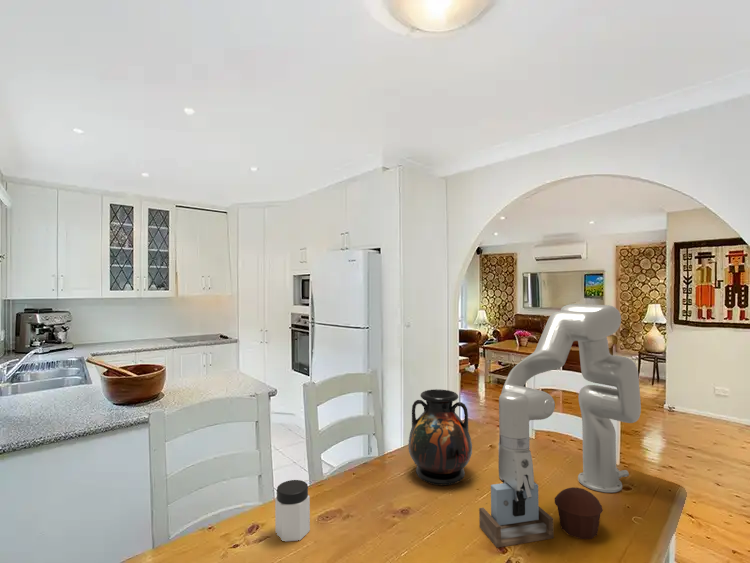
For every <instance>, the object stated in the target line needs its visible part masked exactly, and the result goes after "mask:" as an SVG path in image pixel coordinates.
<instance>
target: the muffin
mask: <svg viewBox="0 0 750 563" xmlns="http://www.w3.org/2000/svg"><path fill="white" fill-rule="evenodd" d="M554 504H555V505H556V507H557V511H558V512H557V513H558V518H559V525H560V530H562V531H563V532H565V534H567V535H569V536H571V537H575V538H577V539H579V540H585V539H586V540H592V539H594V538H595V537H597V536H598V531H599V526H600V521H601V520H600V519H601V514H602V513H603V510H604V509H603V506H602V504H601V502H600V501H599V499H598V498H597V497H596V496H595V495H594V494H593V493H591V492H590V491H588V490H587V489H584V488H581V487H568V488H564V489H562V490H561V491H560V492H558V494H557V495H556V496H555V497H554ZM594 536H595V537H594Z"/></svg>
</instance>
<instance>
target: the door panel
mask: <svg viewBox="0 0 750 563" xmlns="http://www.w3.org/2000/svg"><path fill="white" fill-rule="evenodd" d="M530 492H531V496H532V497H531V498H527V499H526V501H525V515H523V516H516V517H515V516H514V515H513V500H514V488H512V487H511V486H510V485H509V484H508V483H503V482H502V483H495V484H494V483H493V484H490V515H491V516H492V517H493V519H494V520H495V521H496V522H497V523H498V524H499V525H506V524H513V523H520V522H526V521H533V520H539V507H540V506H539V484H538V483H537V482H535V481H534V489H533V490H530ZM520 493H522V491H519V492H518V495H519V494H520Z"/></svg>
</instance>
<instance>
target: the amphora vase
mask: <svg viewBox="0 0 750 563" xmlns="http://www.w3.org/2000/svg"><path fill="white" fill-rule="evenodd" d="M419 395H420V398H421V399H422V400H421V399H416V400H415V401H414V402H413V404H412V405H411V406H412V407H411V429H410V432H409V437H408V453H409V456H410V458H411V460H412V461H413V462H414V464H415V465H416V469H415V474H416V475H417V477H418V478H420V480H422V481H424V482H426V483H429V484H431V485H437V486H450V485H455V484H457V483H459V482H461V481H462V480H463V479H464V478H465V475H466V474H465V469H464V468H465V467H466V466H467V465H468V464H469V462H470V459H471V457H472V454H473V442H472V438H471V435H470V432H469V413H468V407H467V405H466V404H465V403H463V402H461V401H459V402H455V401H457V400H458V398H459V395H458V393H456V392H455V391H452V390H449V389H437V388H436V389H427V390H424V391H422V392H421V393H420V394H419ZM424 401H425V402H424ZM453 402H455V403H454V404H453ZM418 405H421V406H422V407H423V412H422V413H421V414H420V415H419V416H418V418H417V417H416V416H417V415H416V409H417V406H418ZM458 407H461V408H462V410H463V413H464V419H463V420H464V421H463V420H462V419H461V418H460V416H459V415H458V414H457V413H456V408H458Z"/></svg>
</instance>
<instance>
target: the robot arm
mask: <svg viewBox="0 0 750 563" xmlns="http://www.w3.org/2000/svg"><path fill="white" fill-rule="evenodd" d="M621 323H622V315H621V313H620V310H619V309H618V308H616V307H615V306H613V305H610V304H609V305H607V304H588V303H587V304H586V303H585V304H584V303H573V304H572V303H571V304H567V305H564V306H562V307H561V308H560V311H555V312H553V313H551V314H550V315H549V317H548V319H547V322H546V324H545V327H544V329H543V331H542V333H541V335H540V338H539V340H538V343H537V345H536V348H535V349H534V351H533V352H532V353H531V354H529V355H527V356H526V357H524V358H523V359H522V360H521V361H520V362H518V363H517V364H516V365H515V366H513V368H512V369H511V370H510V371H509V373H508V375H507V377H506V380H505V382H504V384H503V387H502V389H501V393H500V395H499V397H498V420H499V421H498V426H499V427H498V428H499V430H498V431H499V433H498V435H499V439H498V476H499V475H500V477H501V478H502V480H503V481H502V480H501V481H502V483H508V484H509V485H510V486H511V487H512V488H514V500H513V515H514V516H515V517H516V516H523V515H525V501H526V499H527V498H531V497H532V496H531V492H530V490H533V489H534V482H535V476H534V464H533V457H532V453H531V452H532V451H531V450H530V446H531V445H530V421H539V420H540V421H541V420H546V419H548V418H549V417H551V416H552V415H553V413H554V412H555V408H556V403H555V402H556V401H555V400H554V398H553V397H552V395H551V394H549V393H548V392H546V391H543V390H539V389H534V388H532V387H527V386H525V385H526V383H527V382H528V381H529V380H530V379H531V378H533V377H535V376H537V375H539V374H543V373H546V372H549V371H553V370H558V369H560V368H562V367H563V366H564V365H566V364H565V363H566V361H567V359H568V356H569V353H570V351H571V348H572V345H573V343H574V342H577V343H578V351H579V352H578V353H579V362H580V370H581V375H582V376H581V377H583V379H585V380H586V381H587V382H589V383H594V384H588V385H585V386H583V387H582V388H581V389H579V392H578V404H579V408H580V414H581V422H582V426H581V427H582V471H583V472H579V474H578V475H577V481H578V482H579V483H580V484H581V485H582V486H584V487H585V488H588V489H590V490H593V491H597V492H599V493H609V494H612V493H618V492H620V491H622V490H623V483H622V481H621V480H620V479H622V478H625V477H627V478H628V477H629V476H630V473H629V471H628V470H627V469H624V470H620V469H619V468H617V447H616V446H617V443H616V442H617V436H616V435H617V434H616V433H617V432H616V429H615V426H614V424H613V422H612V420H613V421H617V422H621V423H627V424H633V423H636V422H637V421H639V419H640V416H641V414H642V405H641V402H642V400H641V393H640V392H641V391H640V378H639V377H640V376H639V371H638V367H637V365H636V363H635V362H634V360H632V359H631V358H629V357H626V356H620V355H613V354H611V353H610V349H609V348H610V347H609V339H608V337H609V336H611V335H613V334H615V333H616V332H618V330H619V328H620V326H621ZM596 384H597V385H596ZM599 384H600V385H599ZM608 386H609V387H608ZM610 386H611V387H610ZM614 387H615V388H614ZM499 445H500V447H499ZM500 477H499V478H500ZM519 491H522V493H520V494H519V495H518V492H519Z"/></svg>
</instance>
